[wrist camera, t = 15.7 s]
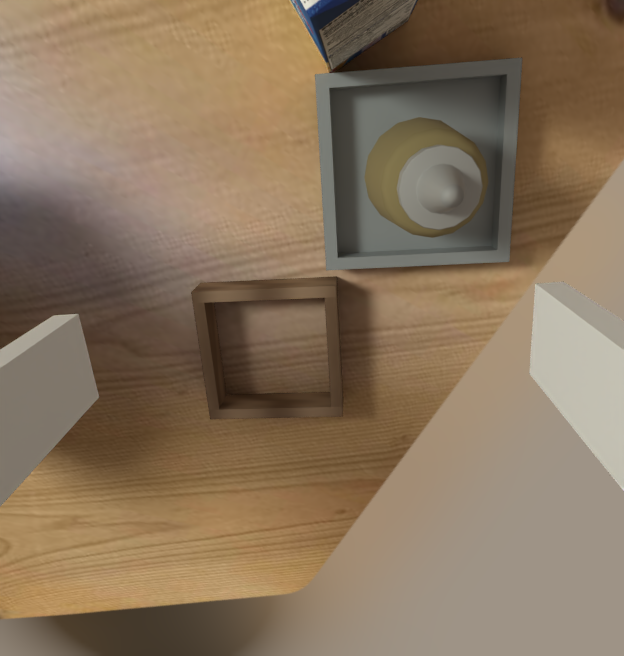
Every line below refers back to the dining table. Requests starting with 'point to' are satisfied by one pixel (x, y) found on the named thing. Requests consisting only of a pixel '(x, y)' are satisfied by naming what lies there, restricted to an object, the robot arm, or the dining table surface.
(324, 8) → the beverage box
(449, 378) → the dining table surface
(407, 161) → the squeeze bottle
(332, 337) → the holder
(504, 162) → the tray
